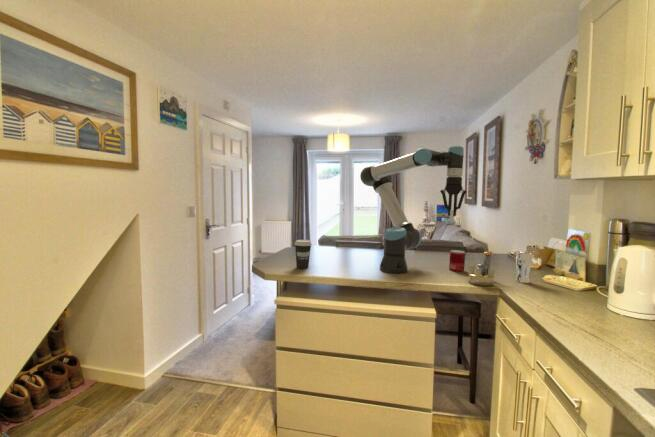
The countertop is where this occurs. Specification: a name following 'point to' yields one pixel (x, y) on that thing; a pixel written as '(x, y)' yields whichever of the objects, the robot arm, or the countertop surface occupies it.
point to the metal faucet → (482, 272)
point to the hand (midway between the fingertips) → (451, 222)
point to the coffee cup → (302, 253)
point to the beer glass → (523, 266)
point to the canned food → (457, 260)
